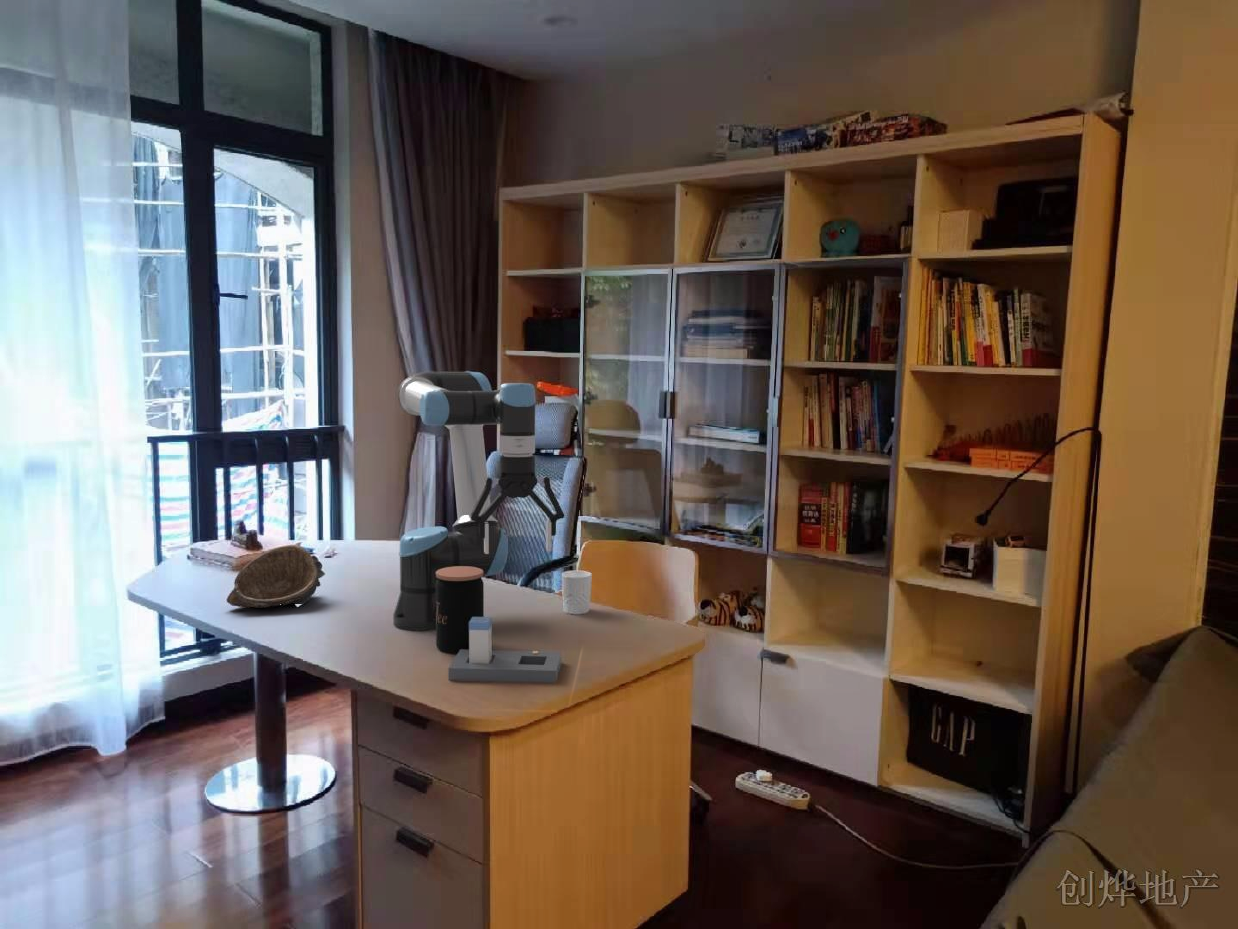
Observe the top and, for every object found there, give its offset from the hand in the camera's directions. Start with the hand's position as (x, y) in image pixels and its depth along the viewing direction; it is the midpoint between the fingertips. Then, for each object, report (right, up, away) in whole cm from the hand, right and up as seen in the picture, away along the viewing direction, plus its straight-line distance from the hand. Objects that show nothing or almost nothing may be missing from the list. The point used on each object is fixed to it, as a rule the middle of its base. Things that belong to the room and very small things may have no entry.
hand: (517, 551), depth 200 cm
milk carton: (-7, -24, -7) cm, 26 cm away
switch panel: (-2, -25, -7) cm, 26 cm away
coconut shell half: (-66, -19, +41) cm, 80 cm away
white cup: (+11, -20, +41) cm, 46 cm away
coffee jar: (-14, -23, +8) cm, 28 cm away
